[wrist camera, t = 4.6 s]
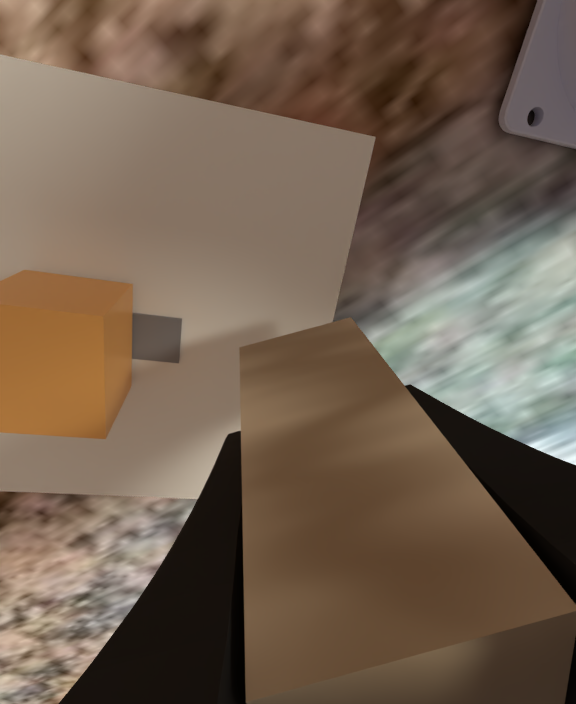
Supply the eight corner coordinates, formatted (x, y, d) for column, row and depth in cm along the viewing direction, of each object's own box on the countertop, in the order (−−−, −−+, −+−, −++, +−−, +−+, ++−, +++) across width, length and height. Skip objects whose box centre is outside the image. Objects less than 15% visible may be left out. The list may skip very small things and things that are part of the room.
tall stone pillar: (350, 317, 11) (579, 609, 4) (367, 410, 12) (556, 755, 5) (239, 347, 11) (245, 703, 4) (268, 436, 12) (315, 822, 5)
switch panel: (363, 139, 12) (377, 136, 11) (287, 482, 18) (290, 504, 17) (-487, -45, 9) (-603, -79, 7) (-249, 456, 14) (-292, 481, 13)
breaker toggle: (132, 284, 12) (103, 316, 9) (131, 386, 13) (105, 439, 11) (24, 269, 11) (-40, 299, 9) (35, 377, 13) (-17, 431, 10)
